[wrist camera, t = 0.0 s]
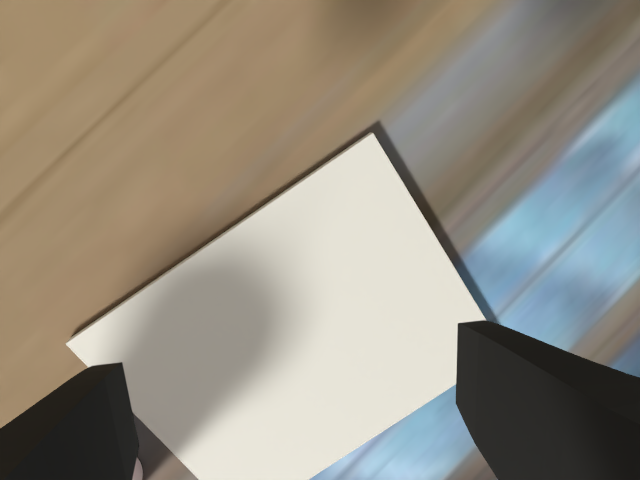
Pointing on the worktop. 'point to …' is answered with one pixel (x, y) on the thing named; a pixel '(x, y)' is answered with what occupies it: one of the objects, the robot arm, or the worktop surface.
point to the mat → (293, 328)
